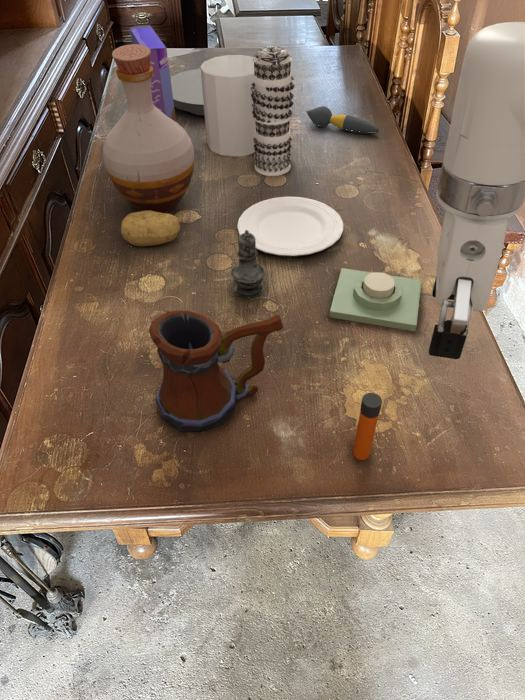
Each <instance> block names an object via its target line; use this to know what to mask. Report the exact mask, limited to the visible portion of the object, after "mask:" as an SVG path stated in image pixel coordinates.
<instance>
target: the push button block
mask: <svg viewBox="0 0 525 700" xmlns="http://www.w3.org/2000/svg"><path fill="white" fill-rule="evenodd" d="M370 273H373V271H366V270H364V271H363V270H359V269H353V268H352V269H351V268H344V267H341V269H340V272H339V276H338V279H337V282H336V287H335V290H334V294H333V298H332V301H331V305H330V308H329V315H328V317H329V318H331V319H338V320H343V321H350V322H355V323H361V324H366V325H373V326H378V327H384V328H385V327H386V328H389V329H397V330H403V331H408V332H409V331H410V332H414V333H415V332H416V330H417V327H418V326H417V325H418V318H419V317H418V316H419V307H420V300H421V299H420V298H421V291H422V290H421V288H422V279H419V278H411V277H404V276H398V275H391V274H388V275H389V276H391V277H392V278H393V279H394V282H395V285H394V290H393V293H392V295H391V296H390V297H388V298H382V299H379V298H372V297H370V296H368V295H366V294H365V293H364V291H363V284H364V279H365V277H366V276H367V275H368V274H370Z"/></svg>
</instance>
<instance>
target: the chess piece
mask: <svg viewBox="0 0 525 700" xmlns="http://www.w3.org/2000/svg"><path fill="white" fill-rule="evenodd" d="M258 256H259V250H257V249H256V241H255V236H254V235H253V234H251V233H249V232H248V230H246V231H245V233H243V234H241V235H239V236H238V250H237V252H236V257H237V258H238V264H236V265H234V267H232V269H231V271H230V275H231V277H232V279H233V281H234V283H235V284H234V286H233V291H234V293H235V294H236V295H237V296H238V297H241V298H244V299H253V298H256V297H259V296H260V295H262V294H263V292H264V289H265V286H264V284H263V280H264V277H265V275H266V269H265V267H264V266H263V265H261V264H260V263H258V262H257V257H258Z"/></svg>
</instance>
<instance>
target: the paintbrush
mask: <svg viewBox="0 0 525 700" xmlns="http://www.w3.org/2000/svg"><path fill="white" fill-rule="evenodd" d="M332 113H333V112H332V110H331V109H330V108H329V107H327V106H325V105H322V106H318V107H314V108H312V109H310V110H306V114H307V116H308V118H309V119H310V121H311V122H312V124H314V125H315V124H316V125H315V126H316V127H318V128H326V127H328V126H329V125H330V124H332V126H334V127H336V126H337V127H336V128H337V129H339V130H342V131H343V132H344V131H345V132H349V133H353V134H361V135H375V134H377V133H379V132H380V129H379V128H378V127H377V126H376V125H374V124H373V123H371V122H369V121H367V120H365V119H362V118H359V117H356V116H353V115H349V114H332ZM328 124H329V125H328ZM318 125H319V126H318ZM341 128H342V129H341ZM346 129H347V130H346ZM351 130H353V131H351ZM359 131H360V132H359ZM368 132H369V133H368ZM370 132H377V133H370Z"/></svg>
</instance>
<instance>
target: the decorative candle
mask: <svg viewBox="0 0 525 700" xmlns="http://www.w3.org/2000/svg"><path fill="white" fill-rule="evenodd" d="M252 57H253V58H252V60H253V61H254V73H253V80H254V82H253V83H252V84H251V90H252V94H251V97H252V100H253V104H252V107H253V111H252V113H253V118H254V120H255V125H256V129H255V138H254V139H253V140H254V143H255V144H254V150H255V152H254V153H253V157H254V158H253V163H254V170H255V172H257V173H258V174H260V175H263V176H266V177H277V176H281V175H285V174H287V173H288V172H289V171H290V170H291V169H292V166H291V162H292V159H291V156H292V152H291V148H292V144H291V143H292V138H291V137H292V136H291V129H290V128H291V127H290V126H291V120H292V117H293V111H292V110H291V109H290V108H292V107H293V105H294V102H293V98H294V94H293V93H292V92H291V91H292V90H294V88H295V84H294V83H293V81H294V80H295V78H294V76H293V75H292V71H291V70H292V60H293V56H292V55H291V54H289V53H288V50H287V49H286V48H284V47H282V46H277V45H267V46H263V47H261V48H259V49H258V51H257V52H256V54H255V55H253V56H252ZM254 88H255V89H254ZM254 94H255V96H254ZM255 105H256V106H255Z"/></svg>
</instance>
